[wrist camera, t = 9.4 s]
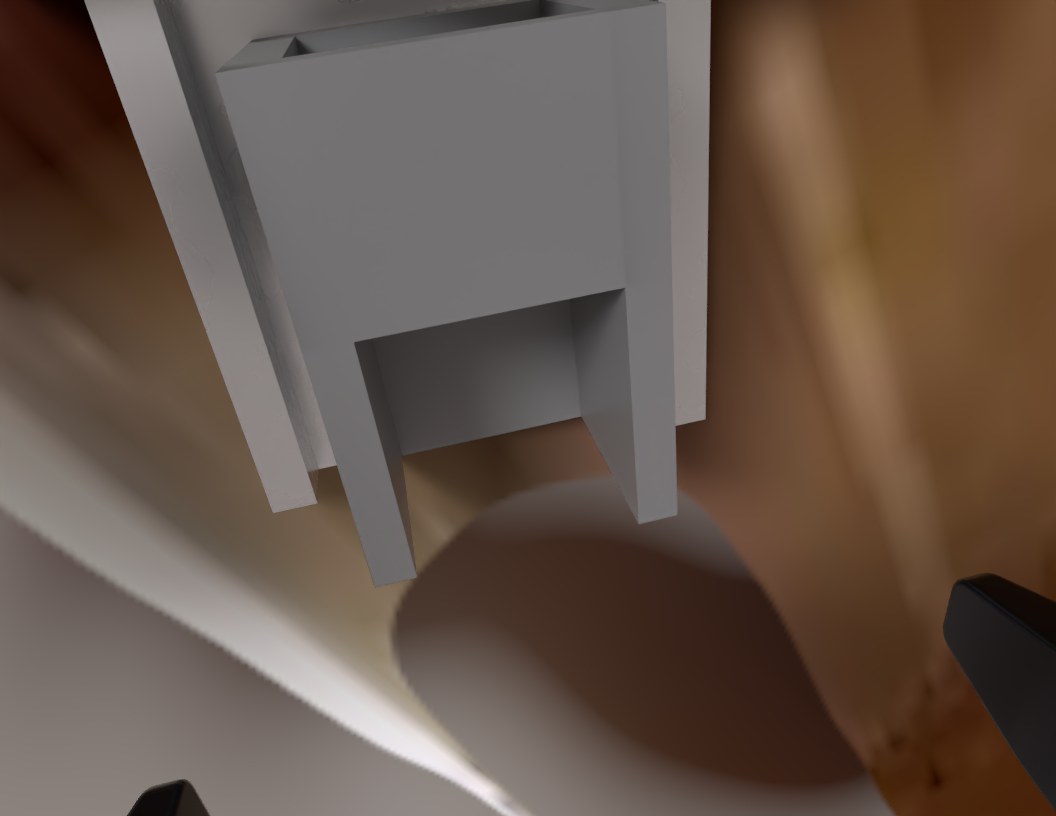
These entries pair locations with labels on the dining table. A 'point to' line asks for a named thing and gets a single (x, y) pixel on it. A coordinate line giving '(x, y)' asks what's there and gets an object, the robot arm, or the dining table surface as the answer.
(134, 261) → the dining table surface
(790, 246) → the dining table surface
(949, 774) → the dining table surface
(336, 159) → the chute
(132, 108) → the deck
